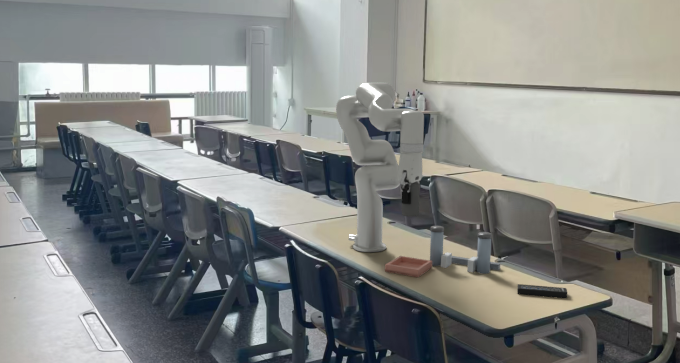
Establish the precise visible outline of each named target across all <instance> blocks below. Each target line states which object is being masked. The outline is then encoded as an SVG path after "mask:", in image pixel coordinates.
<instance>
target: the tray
mask: <svg viewBox="0 0 680 363" xmlns="http://www.w3.org/2000/svg"><path fill="white" fill-rule="evenodd" d="M432 268H433V265H432V261H430V259H424V258H423V259H422V258H418V257H410V256H405V255H399V256H397V257H396V258H394V259H392V260H390V261H389V262H387V263H385V264H384V272H386V273H389V274H390V273H391V274H396V275H397V274H398V275H403V276H409V277H413V278H419V277H421V276H422V275H424V274H425V273H427V272H428V271H429V270H431V269H432Z"/></svg>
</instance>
